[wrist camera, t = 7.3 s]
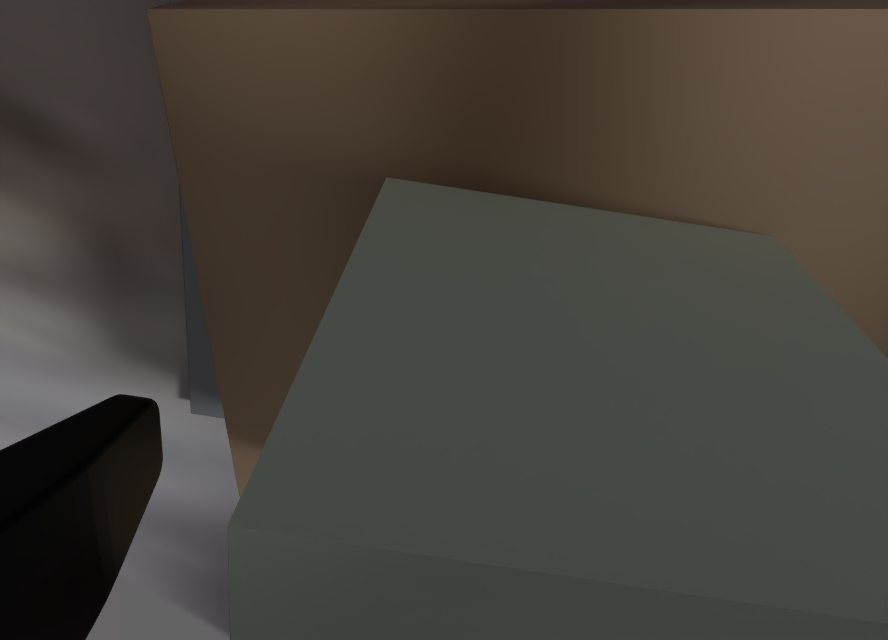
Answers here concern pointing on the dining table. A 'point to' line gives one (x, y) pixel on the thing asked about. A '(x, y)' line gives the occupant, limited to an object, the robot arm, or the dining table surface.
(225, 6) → the slab top
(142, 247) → the dining table surface
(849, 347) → the sage block
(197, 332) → the mat
